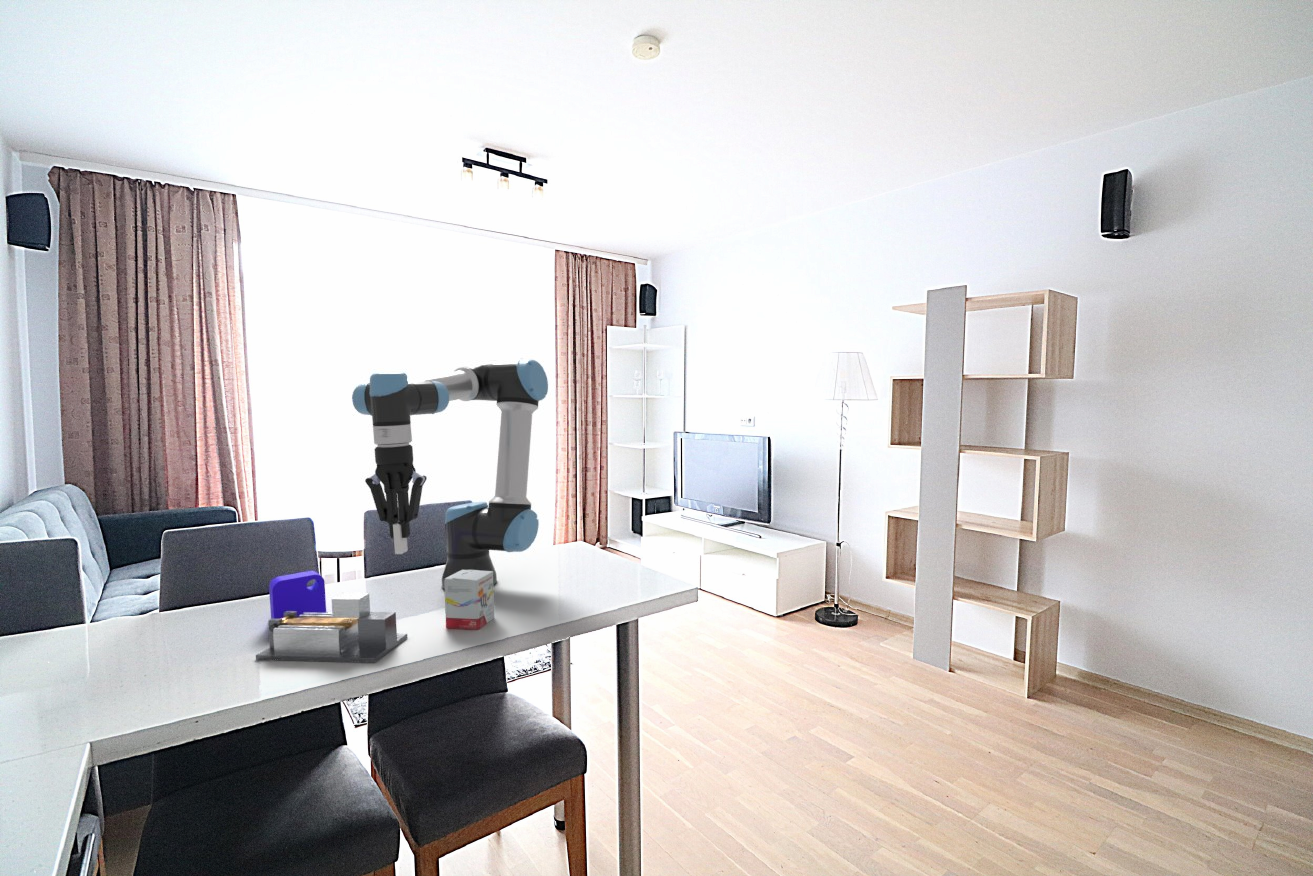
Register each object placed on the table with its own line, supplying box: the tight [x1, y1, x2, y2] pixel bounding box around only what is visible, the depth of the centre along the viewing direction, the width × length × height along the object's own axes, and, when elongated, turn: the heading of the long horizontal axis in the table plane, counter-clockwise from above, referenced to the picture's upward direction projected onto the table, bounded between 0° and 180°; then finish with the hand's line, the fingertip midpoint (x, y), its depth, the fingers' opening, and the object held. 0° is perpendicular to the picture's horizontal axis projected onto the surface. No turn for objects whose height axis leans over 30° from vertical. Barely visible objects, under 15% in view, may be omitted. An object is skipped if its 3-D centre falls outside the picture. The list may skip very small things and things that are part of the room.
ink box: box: [444, 570, 495, 631], centre depth 146 cm, size 9×9×12 cm
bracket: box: [268, 570, 327, 619], centre depth 154 cm, size 18×11×12 cm, turn 40°
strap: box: [280, 616, 358, 627], centre depth 133 cm, size 3×18×2 cm, turn 84°
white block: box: [331, 592, 371, 618], centre depth 132 cm, size 4×6×4 cm, turn 84°
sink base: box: [255, 611, 408, 664], centre depth 132 cm, size 13×26×7 cm, turn 84°
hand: (401, 552), depth 135 cm, fingers closed
